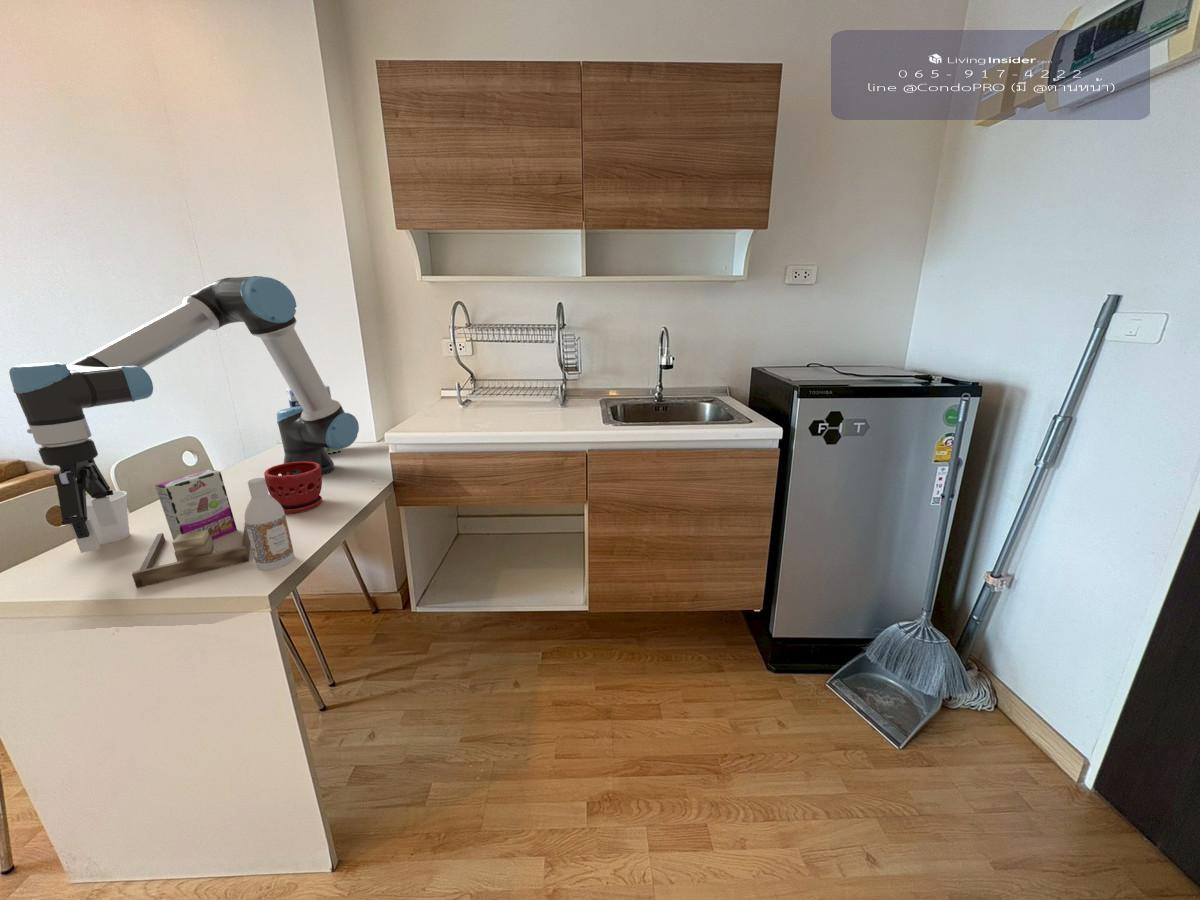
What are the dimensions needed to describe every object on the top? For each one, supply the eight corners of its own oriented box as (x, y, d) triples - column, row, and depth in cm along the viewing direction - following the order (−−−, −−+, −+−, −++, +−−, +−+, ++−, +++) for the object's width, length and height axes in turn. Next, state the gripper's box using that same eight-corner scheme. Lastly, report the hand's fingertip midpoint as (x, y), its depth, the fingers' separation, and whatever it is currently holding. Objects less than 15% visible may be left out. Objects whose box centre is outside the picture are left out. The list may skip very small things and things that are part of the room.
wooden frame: (252, 524, 121) (249, 510, 120) (249, 564, 102) (245, 548, 101) (160, 543, 111) (155, 528, 110) (138, 591, 92) (131, 574, 91)
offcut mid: (213, 546, 104) (211, 536, 103) (211, 555, 100) (208, 545, 100) (181, 553, 101) (178, 543, 100) (177, 563, 97) (174, 552, 97)
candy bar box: (225, 528, 118) (208, 468, 113) (238, 531, 117) (222, 470, 112) (173, 549, 108) (153, 484, 103) (187, 553, 107) (167, 486, 102)
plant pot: (280, 522, 122) (270, 479, 118) (267, 508, 130) (257, 468, 127) (334, 506, 131) (326, 466, 127) (318, 494, 139) (310, 457, 136)
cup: (114, 530, 118) (99, 490, 114) (151, 530, 117) (138, 490, 114) (70, 550, 108) (53, 507, 105) (111, 550, 108) (95, 507, 105)
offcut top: (210, 537, 103) (207, 529, 102) (204, 545, 99) (202, 537, 99) (181, 542, 100) (178, 534, 100) (174, 551, 97) (172, 542, 96)
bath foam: (268, 577, 97) (246, 488, 91) (250, 568, 100) (228, 482, 94) (302, 561, 103) (283, 477, 97) (284, 554, 106) (265, 472, 100)
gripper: (60, 431, 100) (93, 520, 107) (9, 462, 81) (53, 568, 87) (108, 426, 104) (137, 512, 111) (71, 454, 85) (109, 556, 91)
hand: (100, 537), depth 99 cm, fingers open, 13 cm apart
